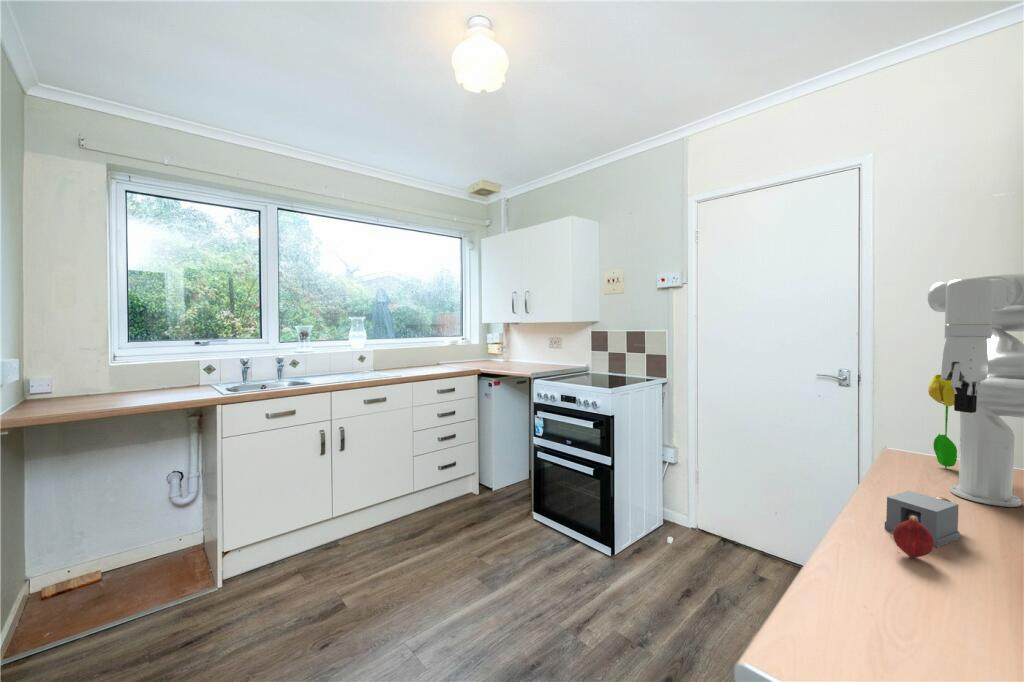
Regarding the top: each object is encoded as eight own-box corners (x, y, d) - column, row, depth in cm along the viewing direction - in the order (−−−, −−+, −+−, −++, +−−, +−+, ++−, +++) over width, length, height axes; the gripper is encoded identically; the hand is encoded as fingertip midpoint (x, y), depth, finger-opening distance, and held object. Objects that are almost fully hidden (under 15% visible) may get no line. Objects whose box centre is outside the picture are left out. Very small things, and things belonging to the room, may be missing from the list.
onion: (941, 567, 80) (943, 525, 80) (905, 564, 81) (906, 522, 81) (919, 551, 86) (920, 511, 86) (885, 548, 87) (886, 509, 87)
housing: (906, 521, 99) (907, 490, 99) (959, 538, 91) (960, 504, 91) (884, 528, 96) (885, 496, 95) (937, 547, 87) (938, 512, 87)
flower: (936, 463, 142) (938, 372, 141) (969, 470, 135) (973, 374, 134) (921, 466, 139) (924, 373, 138) (955, 474, 131) (958, 375, 130)
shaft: (928, 515, 99) (928, 493, 99) (957, 524, 95) (958, 501, 95) (898, 525, 94) (898, 503, 94) (927, 535, 90) (928, 512, 90)
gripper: (961, 332, 106) (958, 406, 106) (929, 332, 100) (927, 411, 100) (1005, 332, 99) (1002, 412, 100) (974, 332, 93) (972, 417, 94)
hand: (965, 411), depth 100 cm, fingers closed
